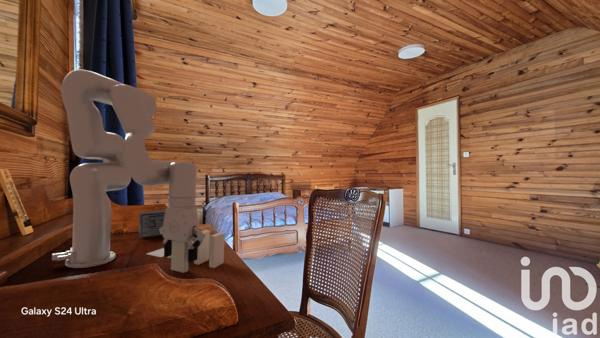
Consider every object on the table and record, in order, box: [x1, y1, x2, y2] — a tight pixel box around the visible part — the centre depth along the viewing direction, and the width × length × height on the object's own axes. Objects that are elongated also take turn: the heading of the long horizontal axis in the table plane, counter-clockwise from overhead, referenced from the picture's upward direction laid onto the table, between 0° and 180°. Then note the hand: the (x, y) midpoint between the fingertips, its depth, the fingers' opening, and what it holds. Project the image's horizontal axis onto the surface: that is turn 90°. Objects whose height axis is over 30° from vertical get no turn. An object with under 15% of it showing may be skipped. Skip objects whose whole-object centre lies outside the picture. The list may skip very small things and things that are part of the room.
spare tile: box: [170, 241, 189, 274], centre depth 79 cm, size 2×5×10 cm, turn 69°
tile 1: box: [208, 232, 226, 269], centre depth 84 cm, size 2×5×10 cm, turn 159°
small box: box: [138, 209, 166, 239], centre depth 114 cm, size 11×6×10 cm, turn 130°
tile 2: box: [193, 229, 211, 265], centre depth 87 cm, size 2×5×10 cm, turn 159°
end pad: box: [146, 247, 165, 259], centre depth 93 cm, size 7×7×1 cm
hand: (180, 258), depth 79 cm, fingers open, 9 cm apart
